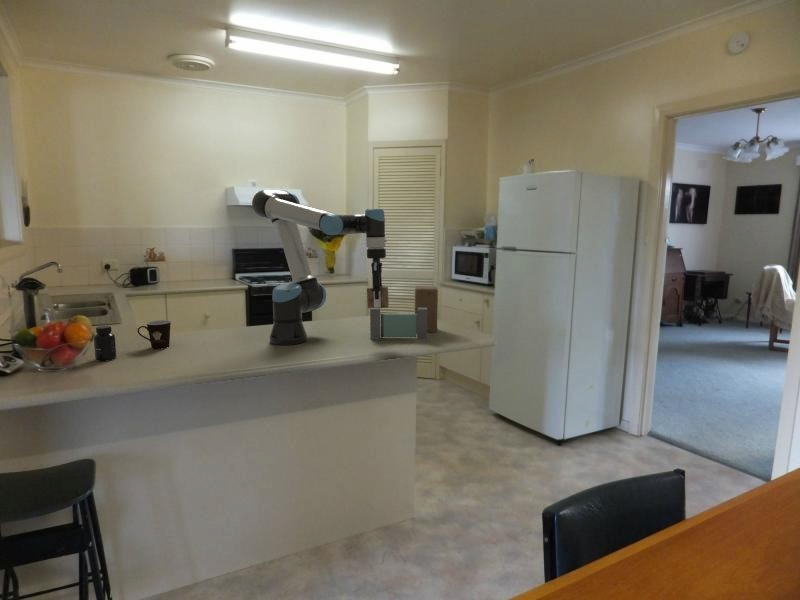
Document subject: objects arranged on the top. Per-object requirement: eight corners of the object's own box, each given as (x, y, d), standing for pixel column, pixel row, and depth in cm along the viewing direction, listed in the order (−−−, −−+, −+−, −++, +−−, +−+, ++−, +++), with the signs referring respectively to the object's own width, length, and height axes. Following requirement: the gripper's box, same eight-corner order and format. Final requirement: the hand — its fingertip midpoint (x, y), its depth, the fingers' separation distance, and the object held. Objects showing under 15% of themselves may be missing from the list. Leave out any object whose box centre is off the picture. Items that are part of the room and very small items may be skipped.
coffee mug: (177, 345, 207) (175, 321, 205) (162, 350, 199) (160, 325, 197) (153, 343, 210) (151, 319, 208) (137, 348, 202) (135, 323, 200)
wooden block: (437, 333, 229) (437, 288, 226) (414, 333, 229) (415, 288, 226) (436, 328, 239) (436, 285, 236) (414, 328, 239) (414, 285, 236)
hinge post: (370, 339, 218) (370, 309, 215) (371, 336, 222) (370, 307, 219) (379, 339, 217) (379, 309, 215) (380, 337, 221) (380, 307, 219)
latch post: (417, 339, 217) (417, 309, 215) (417, 337, 221) (417, 307, 219) (426, 339, 217) (427, 309, 215) (426, 337, 221) (426, 307, 219)
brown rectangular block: (367, 308, 204) (366, 288, 203) (369, 306, 209) (368, 286, 208) (387, 307, 204) (386, 287, 203) (388, 305, 209) (387, 286, 208)
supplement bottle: (93, 362, 182) (89, 329, 180) (98, 357, 189) (95, 325, 187) (114, 360, 184) (111, 328, 182) (119, 356, 191) (116, 324, 189)
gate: (380, 337, 219) (380, 314, 217) (380, 336, 220) (380, 313, 218) (416, 337, 218) (416, 314, 217) (416, 336, 220) (416, 313, 218)
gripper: (383, 249, 194) (385, 309, 197) (387, 246, 212) (389, 302, 215) (364, 249, 194) (366, 309, 198) (369, 247, 212) (371, 302, 216)
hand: (378, 305), depth 207 cm, fingers closed on brown rectangular block, 5 cm apart
